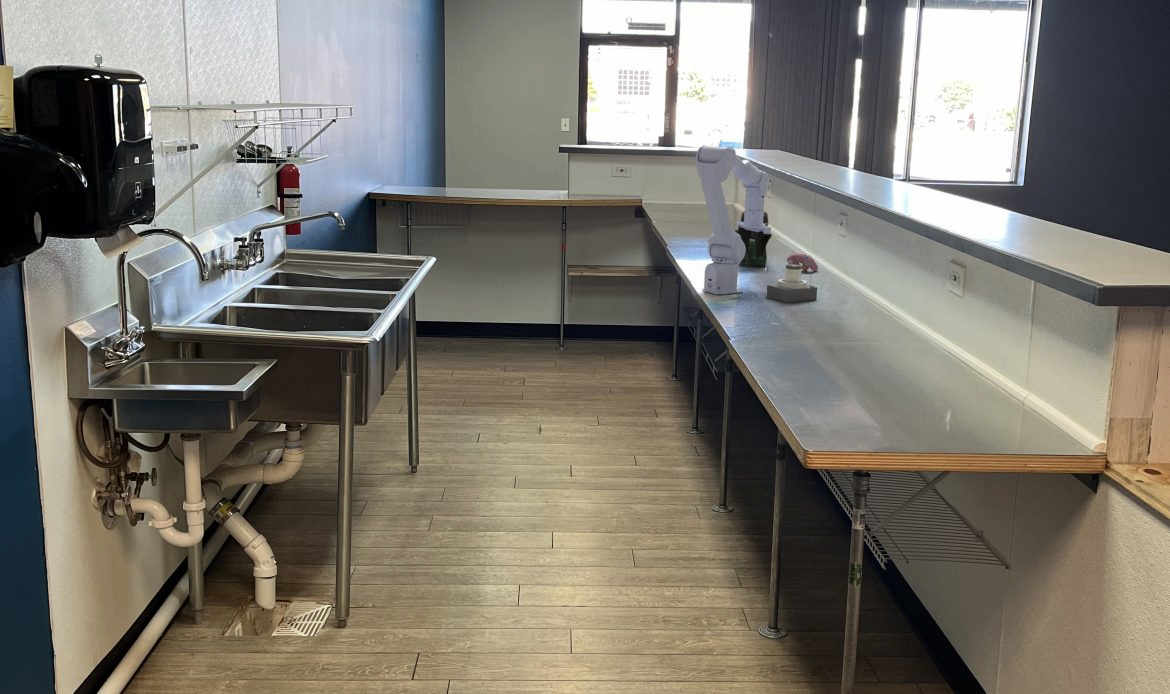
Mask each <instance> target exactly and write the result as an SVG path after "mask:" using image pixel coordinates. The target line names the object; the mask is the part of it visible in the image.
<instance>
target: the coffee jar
mask: <svg viewBox="0 0 1170 694" xmlns="http://www.w3.org/2000/svg"><path fill="white" fill-rule="evenodd" d="M744 213H745V211H743V212H742V213H741V217H740V221H739V222H744ZM768 215H769V214H768V212H767V211H764V214H763V224H765V226H768V227H769V216H768ZM751 229H752V228H751ZM753 233H759V232H756V231H752V234H751V236H750V240H749V247H748V252H747V253H745V256H744V258H743V259H742V261H741V262H740V263H738V265H740V266H744V267H754V268H755V267H764V266H765V267H766V265H767V263H768V262H767V261H768V256H767V254H768V253H767V247H766V248H765V251H764V254H763V256H761V257H757V256H756V245H755V239H754V236H753Z"/></svg>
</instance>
